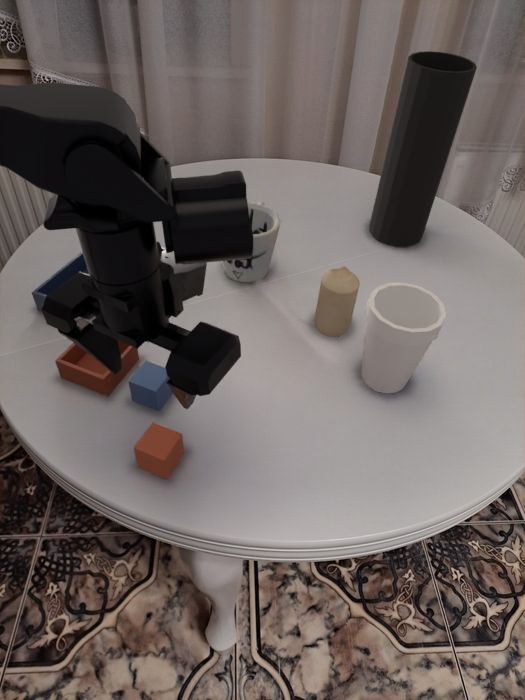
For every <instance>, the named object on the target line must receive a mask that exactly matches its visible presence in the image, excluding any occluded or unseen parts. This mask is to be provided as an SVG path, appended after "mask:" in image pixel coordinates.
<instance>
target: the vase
mask: <svg viewBox="0 0 525 700" xmlns="http://www.w3.org/2000/svg"><path fill="white" fill-rule="evenodd" d="M405 65H406V66H405V70H404V74H403V79H402V83H401V86H400V91H399V96H398V100H397V104H396V108H395V113H394V118H393V122H392V126H391V130H390V135H389V139H388V142H387V147H386V151H385V157H384V161H383V165H382V169H381V174H380V176H379V177H380V178H379V182H378V187H377V190H376V195H375V199H374V203H373V208H372V212H371V215H370V216H371V217H370V221H369V225H368V228H369V229H368V231H369V233H370V235H371V237H373V238H374V239H375V240H377V241H378V242H380V243H382V244H384V245H387V246H392V247H395V248H407V247H413V246H416V245H417V244H418V243H420V242H421V240H422V239H423V236H424V233H425V230H426V227H427V223H428V221H429V217H430V214H431V212H432V208H433V205H434V202H435V199H436V196H437V192H438V190H439V187H440V183H441V181H442V177H443V174H444V172H445V168H446V165H447V162H448V159H449V155H450V153H451V149H452V147H453V143H454V140H455V136H456V133H457V130H458V128H459V124H460V122H461V118H462V114H463V113H464V109H465V106H466V103H467V99H468V96H469V94H470V90H471V87H472V83H473V81H474V78H475V75H476V72H477V69H478V67H477V64H476V62H474V61H472V60H471V59H468V58H467V57H464V56H461V55H458V54H455V53H450V52H449V53H448V52H443V51H432V50H430V51H429V50H427V51H425V50H424V51H416V52H412V53H411V54H410V55H408V58H407V61H406V64H405Z"/></svg>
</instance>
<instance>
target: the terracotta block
mask: <svg viewBox="0 0 525 700" xmlns="http://www.w3.org/2000/svg"><path fill="white" fill-rule="evenodd" d="M184 448H185V447H184V437H183V433H181V432H179V431H176V430H174V429H171V428H169V427H167V426H164V425H162V424H159V423H156V422H155V421H152V422H151V423H150V424H149V426H147V428H146V430H145V431H144V432H143V433H142V435H141V436H140V438H139V439H138V441H137V442H136V443H135V445H134V446H133V452H134V456H135V457H134V458H135V462H136V466H137V468H139V469H142V470H144V471H147V472H149V473H151V474H153V475H155V476H158V477H160V478H162V479H165V480H168V479H169V477H170V476H171V474H172V473H173V471H174V470H175V468H176V466H177V465H178V464H179V462H180V461H181V459H182V458H183V456H184V454H185V449H184Z"/></svg>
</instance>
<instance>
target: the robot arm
mask: <svg viewBox="0 0 525 700" xmlns="http://www.w3.org/2000/svg"><path fill="white" fill-rule="evenodd" d="M0 167H2V168H5V169H7V170H8V171H10V172H12V173H14V174H15V175H16V176H19V178H21V179H23V180H24V181H26V182H28V183H29V184H31V185H32V186H34V187H35V188H37V189H40V190H42V191H44V192H48V193H51V194H53V195H52V196H51V197H49V199H48V201H47V205H46V209H45V215H44V217H43V224H42V225H43V227H44V229H46V230H47V231H57V230H58V231H59V230H60V231H61V230H69V229H70V230H71V229H75V231H76V234H77V238H78V241H79V245H80V249H81V252H83V255H84V259H85V262H86V265H87V269H88V272H89V274H86V273H82V272H78V273H77V274H75V275H74V276H73V277H71V278H70V279H69V280H67V281H66V282H65V283H63V284H62V285H60V286H59V287H58V288H56V289H55V290H54V291H52V292H51V293H50V294H48V295H47V296H46V297H45V299H44V302H43V305H42V308H41V311H40V312H41V313H42V316H43V318H44V320H45V323H46V325H47V326H50V327H53V328H55V329H56V330H57V332H58V333H59V334H60V335H62V336H64V337H66V338H67V339H68V340H69V341H71V342H72V343H75V344H76V345H77V346H79V347H80V348H81V349H83V350H84V351H85V352H87V353H88V354H89V355H90V356H92V357H93V358H94V359H96V360H97V361H98V362H99V363H100V364H102V365H103V366H104V367H105V368H107V369H108V370H109V371H110V372H112V373H113V374H117V373H118V372H119V371H120V370H121V369H122V360H121V354H120V349H119V344H118V340H119V341H121V342H123V343H125V344H128V345H130V346H132V347H134V348H136V349H138V350H139V348H141V346H142V345H143V344H144V343H145V342H146V343H151V344H153V345H155V346H157V347H159V348H162V349H165V350H166V351H168V352H169V355H168V358H167V361H166V364H165V365H164V366H165V368H166V373H167V376H168V377H169V378H170V379H169V380H168V381H167V384H168V386H169V387H170V389H171V390H172V392H173V393H172V394H173V395H174V396H175V398H176V400H177V402H178V403H179V404H180V405H181V406H182V408H183V409H185V410H188V409H190V407H192V405H193V404H194V402H195V399H196V397H197V396H199V397H204V396H208V395H210V394H211V393H212V392H213V391H214V390H215V388H216V387H217V386H218V385H219V384H220V382H221V381H222V380H224V378H225V377H226V376H227V374H228V373H229V371H231V370H232V368H233V367H234V366H235V364H236V363H238V361H239V360H240V358H241V357H242V348H241V345H242V344H241V341H240V337H239V335H238V334H235V333H232V332H230V331H227V330H226V329H223V328H221V327H218V326H215V325H213V324H210V323H208V322H205V321H201V320H200V321H199V322H198V323H197V324H196V325H195V326H194V327H193V328H192V329H191V330H188V329H186V328H184V327H183V326H179V325H177V324H174V323H172V322H170V318H171V317H173V318H178V316H179V315H180V314H182V313H183V311H184V302H186V301H188V300H190V299H192V298H194V297H200V296H202V295H203V294H204V287H205V280H206V272H207V266H208V264H207V263H214V262H215V263H216V262H223V261H227V260H237V259H248V258H252V255H253V231H252V228H251V224H250V220H249V210H248V203H247V202H248V197H247V183H246V180H245V176H244V173H243V172H242V171H241V170H227V171H223V172H219V173H217V174H210V175H196V176H195V175H194V176H182V177H181V176H179V177H173V176H172V168H171V167H172V165H171V161H169V160H168V159H167V158H166V156H164V155H163V154H162V152H160V151H159V149H158V148H157V147H155V145H153V143H152V142H151V141H150V140H149V139H148V138H147V137H146V136H145V135H144V134H143V133H142V132H141V126H140V123H139V120H138V117H137V115H136V113H135V112H134V110H133V109H132V108H131V106H130V105H129V103H128V102H127V100H126V98H124V97H123V96H122V95H120V94H119V93H117V92H115V91H113V90H110V89H109V88H106V87H101V86H96V85H94V86H93V85H85V84H84V85H83V84H73V83H63V82H62V83H61V82H40V83H31V84H30V83H29V84H19V85H18V84H17V85H14V84H12V85H11V84H2V83H0ZM159 222H161V225H162V233H163V240H164V246H165V247H162V244H161V242H159V241H157V236H156V228H155V223H159Z"/></svg>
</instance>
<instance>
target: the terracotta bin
mask: <svg viewBox="0 0 525 700" xmlns="http://www.w3.org/2000/svg"><path fill="white" fill-rule="evenodd" d="M118 344H119V349H120V354H121V360H122V369H121V370H120V371H119V372H118V373H117V374H113V373H112V372H110V371H109V370H108V369H107V368H105V367H104V366H103V365H102V364H100V363H99V362H98V361H97V360H96V359H94V358H93V357H92V356H90V355H89V354H88V353H87V352H85V351H84V350H83V349H81V348H80V347H79V346H77V345H76V344H75V343H73V342H72V343H71V344H70V345H69V346H68V347H67V348H66V349H65V350H64V351H63V352H62V353H61V354H60V355H59V356H58V357H57V358H56V359H55V360H54V362H55V365H56V368H57V371H58V373H59V377H60V378H61V379H63V380H64V381H67V382H70V383H73V384H75V385H78V386H80V387H83V388H84V389H88V390H90V391H92V392H95V393H97V394H100V395H103V396H105V397H107V398H108V397H109V396H110V395H111V393H113V391H114V390H115V389H116V387H118V385H119V384H120V383H121V381H123V379H124V378H125V377H126V376H127V375H128V374H129V373H130V371H131V370H132V369H133V368H134V367H135V366H136V365H137V364H138V362H139V360H140V355H139V348H138V349H136V348H134V347H132V346H130V345H128V344H125V343H123V342H121V341H119V340H118Z"/></svg>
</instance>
